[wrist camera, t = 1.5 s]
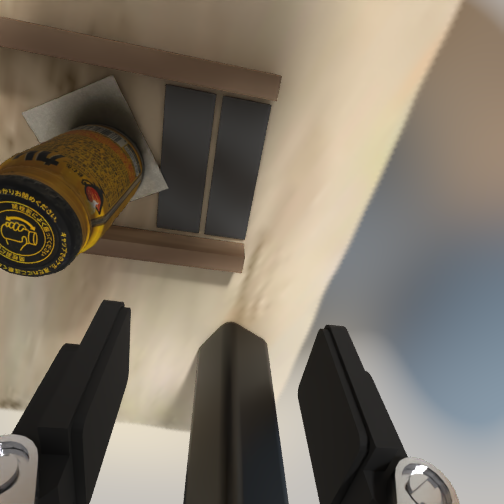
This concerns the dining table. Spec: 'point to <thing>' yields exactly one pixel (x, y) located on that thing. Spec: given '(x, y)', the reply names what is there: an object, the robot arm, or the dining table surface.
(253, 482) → the wine bottle
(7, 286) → the dining table surface
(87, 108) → the condiment
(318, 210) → the dining table surface
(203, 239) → the trap lane
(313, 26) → the dining table surface
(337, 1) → the dining table surface
